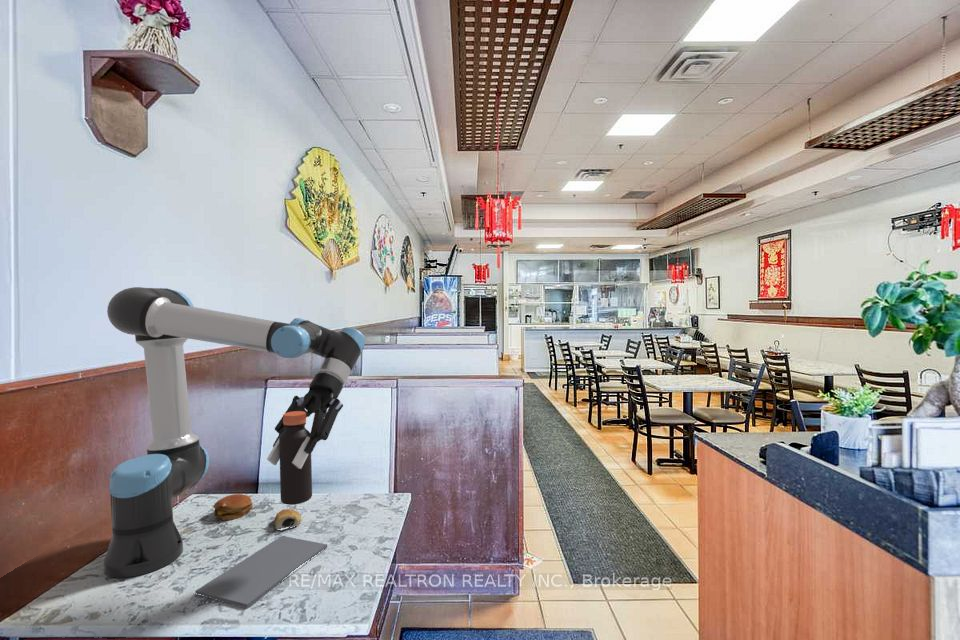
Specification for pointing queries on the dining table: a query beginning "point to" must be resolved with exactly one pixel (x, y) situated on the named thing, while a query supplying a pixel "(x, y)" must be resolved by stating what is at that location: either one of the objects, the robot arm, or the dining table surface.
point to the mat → (260, 571)
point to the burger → (233, 506)
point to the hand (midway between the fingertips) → (283, 463)
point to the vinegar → (292, 478)
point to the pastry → (287, 519)
